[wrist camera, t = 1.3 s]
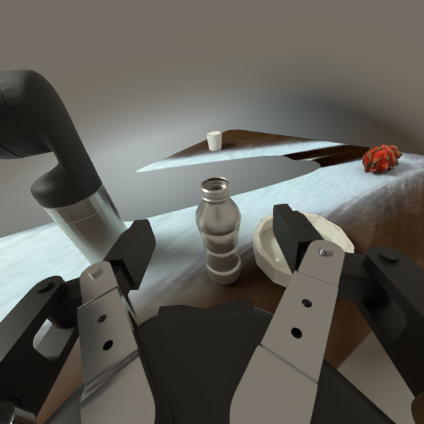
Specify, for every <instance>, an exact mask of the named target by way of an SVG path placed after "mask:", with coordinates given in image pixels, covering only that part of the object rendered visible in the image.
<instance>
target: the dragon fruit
mask: <svg viewBox="0 0 424 424" xmlns="http://www.w3.org/2000/svg"><path fill="white" fill-rule="evenodd" d="M400 156H402V153H401V151H400V150H398V147H397V146H394V145H392V146H388V144H383V145H382V146H381V147H377V146H374V147H372V148H371V149H370V150H369V151H368V152H366V153H365V154H364V155H363V161H362V163H363V165H364V167H365V172H374V173H375V172H377V171H376V170H379V171H380V172H381V173H383V172H386V171H390V170H392V169H394V168H393V167H394V166H397V165H399V163H397V162H398V160H397V159H399V158H400ZM389 166H392V167H389Z"/></svg>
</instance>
